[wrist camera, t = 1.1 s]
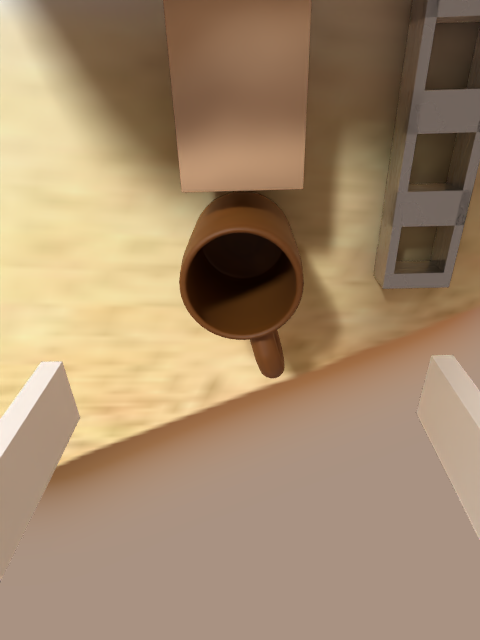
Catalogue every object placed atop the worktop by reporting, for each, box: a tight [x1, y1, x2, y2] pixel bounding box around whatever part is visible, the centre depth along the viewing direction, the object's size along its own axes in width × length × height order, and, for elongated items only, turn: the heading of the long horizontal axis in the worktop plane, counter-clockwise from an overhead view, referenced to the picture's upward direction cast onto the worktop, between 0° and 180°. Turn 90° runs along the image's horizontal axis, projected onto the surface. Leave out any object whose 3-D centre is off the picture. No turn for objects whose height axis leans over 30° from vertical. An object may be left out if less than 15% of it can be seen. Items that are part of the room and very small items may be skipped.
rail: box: [374, 0, 480, 289], centre depth 26 cm, size 24×5×3 cm, turn 2°
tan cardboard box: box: [163, 0, 312, 192], centre depth 24 cm, size 9×7×7 cm
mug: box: [179, 191, 304, 378], centre depth 29 cm, size 12×8×9 cm, turn 18°
